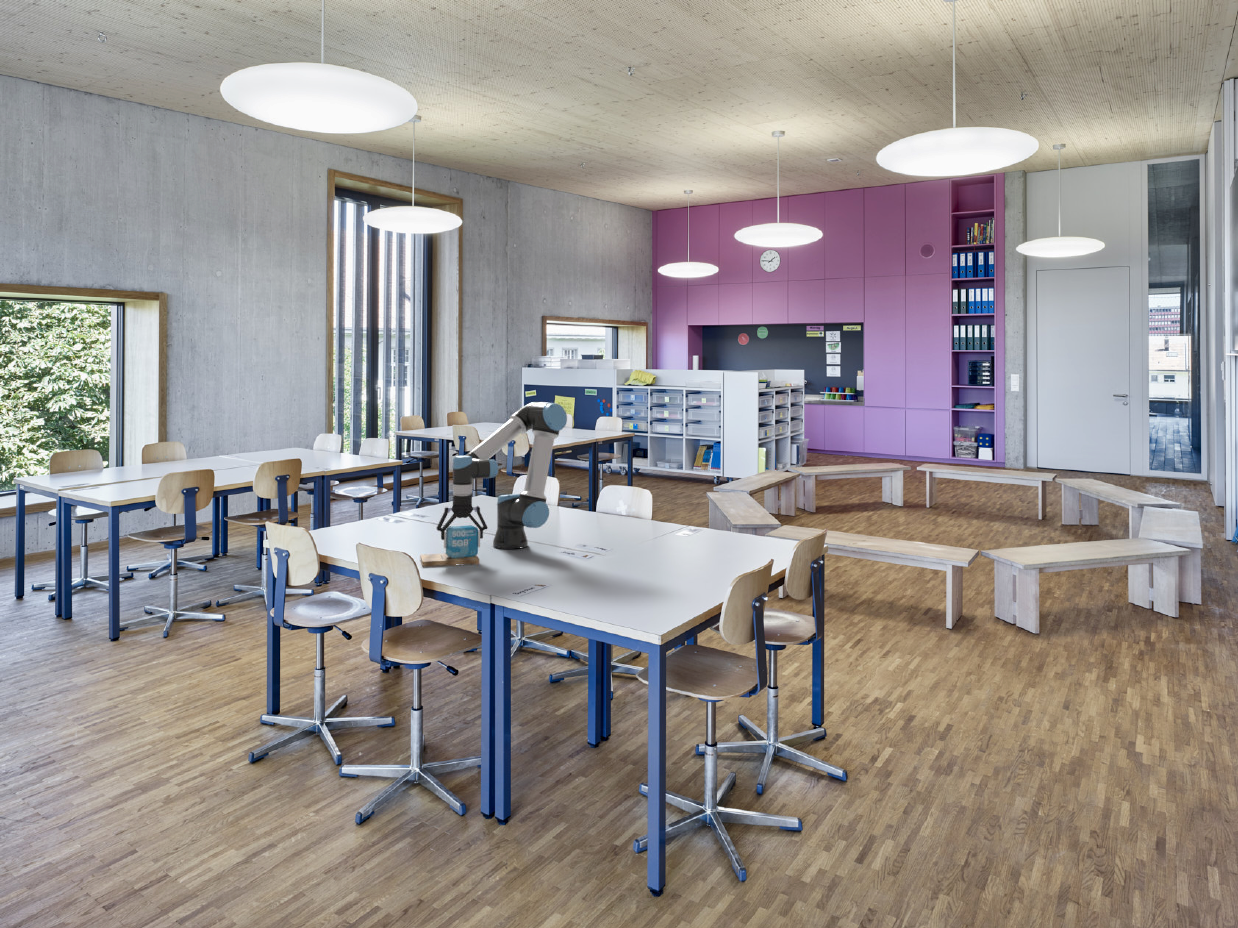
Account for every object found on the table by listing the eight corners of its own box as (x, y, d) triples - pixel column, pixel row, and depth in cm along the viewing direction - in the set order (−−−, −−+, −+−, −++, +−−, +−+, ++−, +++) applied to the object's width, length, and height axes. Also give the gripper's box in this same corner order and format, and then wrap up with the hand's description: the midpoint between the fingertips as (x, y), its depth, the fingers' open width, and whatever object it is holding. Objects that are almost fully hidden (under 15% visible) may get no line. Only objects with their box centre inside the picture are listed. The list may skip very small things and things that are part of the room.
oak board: (475, 557, 343) (475, 552, 342) (479, 564, 330) (479, 559, 330) (420, 559, 336) (420, 554, 336) (422, 566, 324) (422, 561, 324)
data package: (449, 558, 329) (450, 528, 328) (445, 556, 333) (445, 527, 332) (478, 556, 336) (478, 526, 335) (473, 553, 340) (473, 524, 338)
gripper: (491, 492, 339) (491, 544, 341) (429, 493, 332) (429, 546, 334) (494, 495, 332) (494, 547, 334) (431, 496, 325) (431, 550, 327)
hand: (462, 547), depth 334 cm, fingers closed on data package, 13 cm apart
